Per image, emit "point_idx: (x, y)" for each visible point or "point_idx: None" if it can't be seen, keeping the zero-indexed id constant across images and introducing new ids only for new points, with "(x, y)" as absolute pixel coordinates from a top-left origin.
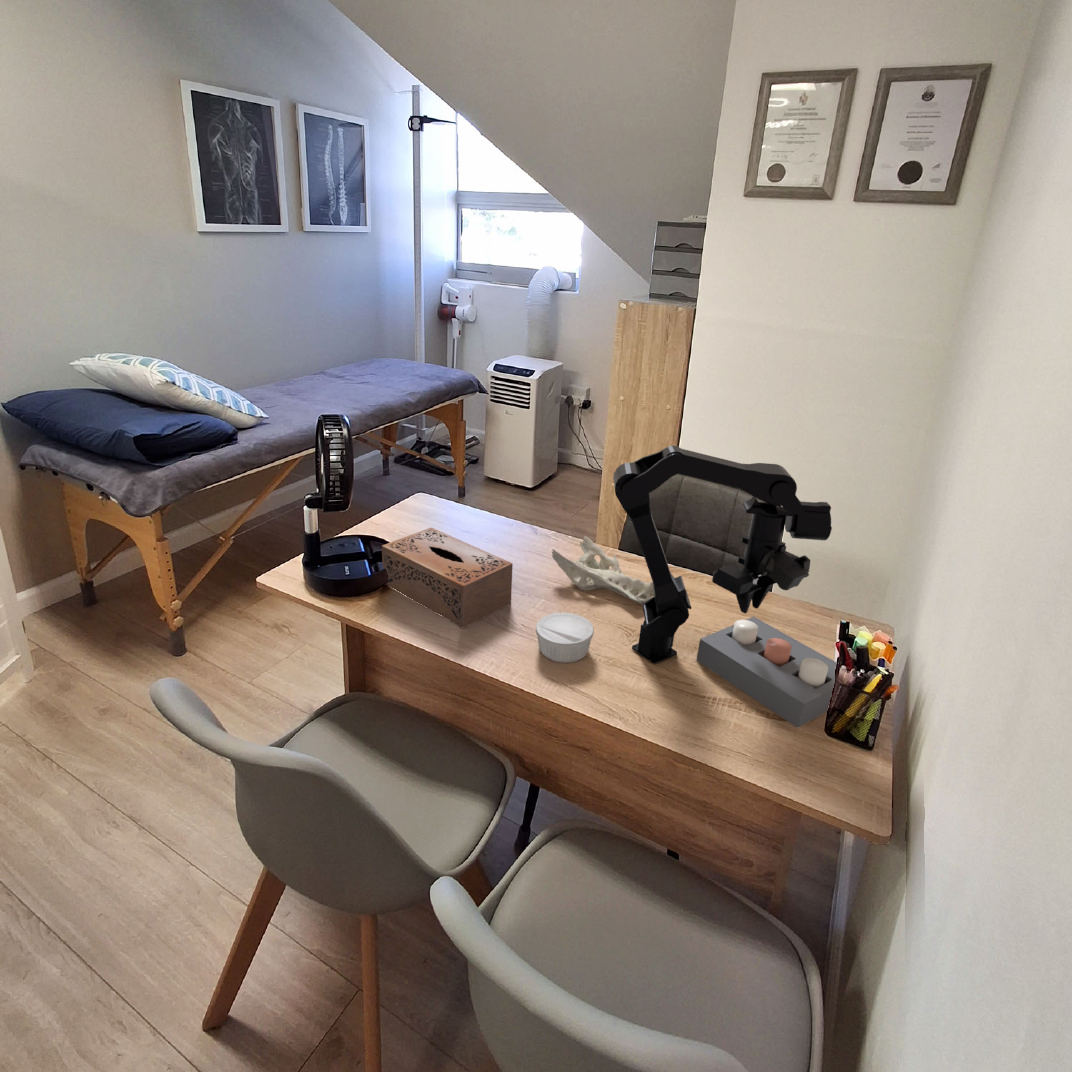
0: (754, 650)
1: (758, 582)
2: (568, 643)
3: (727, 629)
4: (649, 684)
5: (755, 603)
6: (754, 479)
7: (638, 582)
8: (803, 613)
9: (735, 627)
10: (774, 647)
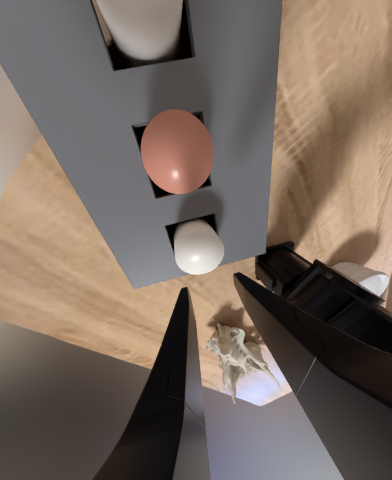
0: (209, 196)
1: (199, 422)
2: (385, 274)
3: None
4: (324, 210)
5: (191, 303)
6: None
7: (233, 353)
8: (6, 298)
9: (222, 255)
10: (203, 148)
